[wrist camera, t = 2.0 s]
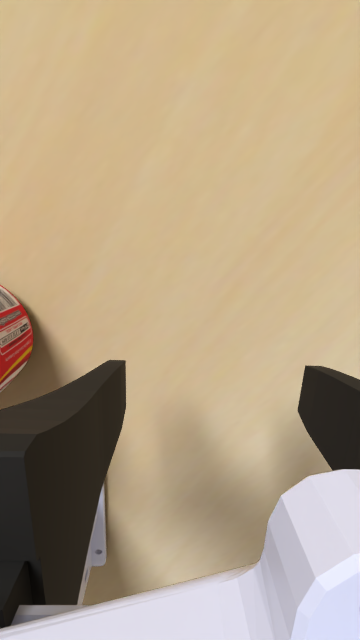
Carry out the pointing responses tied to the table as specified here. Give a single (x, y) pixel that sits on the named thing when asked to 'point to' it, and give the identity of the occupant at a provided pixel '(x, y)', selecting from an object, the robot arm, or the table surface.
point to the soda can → (13, 337)
